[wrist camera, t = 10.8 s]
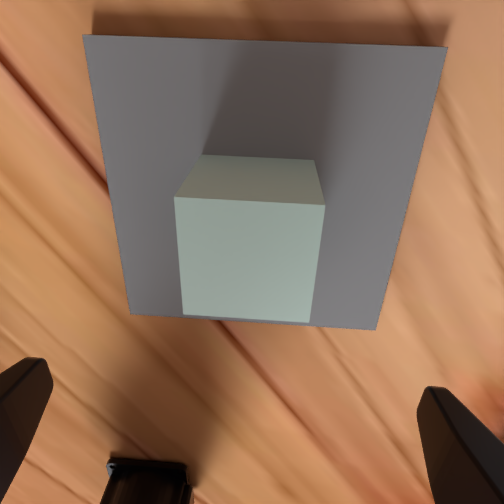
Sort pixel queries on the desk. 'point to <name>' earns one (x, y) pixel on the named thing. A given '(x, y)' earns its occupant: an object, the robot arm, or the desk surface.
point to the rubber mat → (263, 149)
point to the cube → (249, 237)
